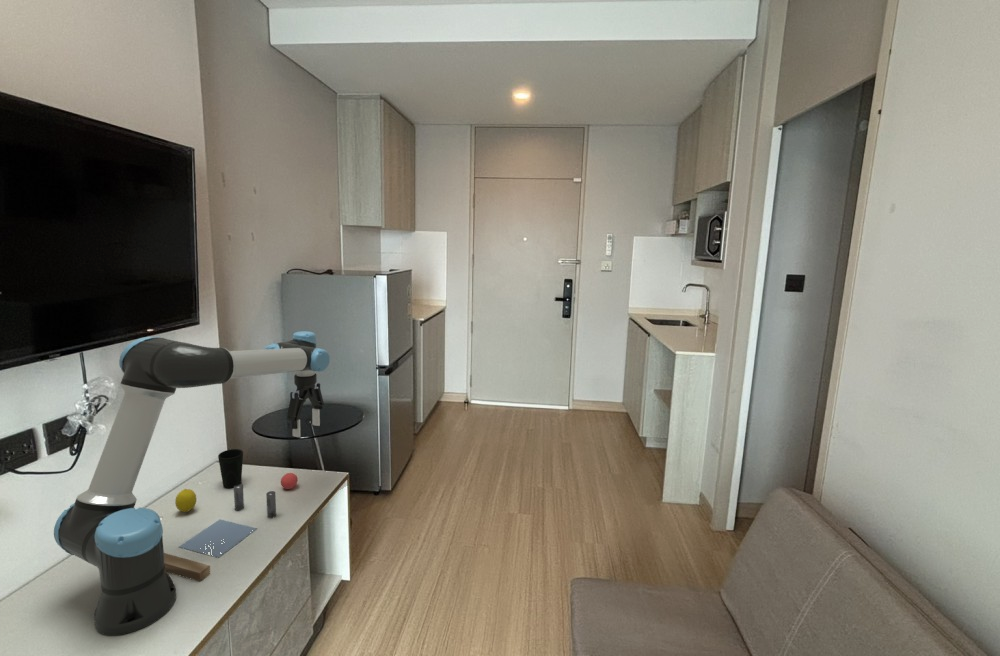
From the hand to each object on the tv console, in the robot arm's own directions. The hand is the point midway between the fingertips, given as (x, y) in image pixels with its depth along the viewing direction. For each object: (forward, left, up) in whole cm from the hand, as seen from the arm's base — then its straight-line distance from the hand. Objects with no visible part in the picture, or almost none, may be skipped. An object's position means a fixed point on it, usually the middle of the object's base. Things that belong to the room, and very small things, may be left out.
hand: (306, 430), depth 169 cm
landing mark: (-40, 0, -18) cm, 44 cm away
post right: (-26, -6, -18) cm, 32 cm away
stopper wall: (-54, 0, -18) cm, 57 cm away
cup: (-15, +20, -18) cm, 31 cm away
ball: (-10, 0, -15) cm, 18 cm away
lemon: (-33, +20, -18) cm, 43 cm away
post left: (-26, +6, -18) cm, 32 cm away
